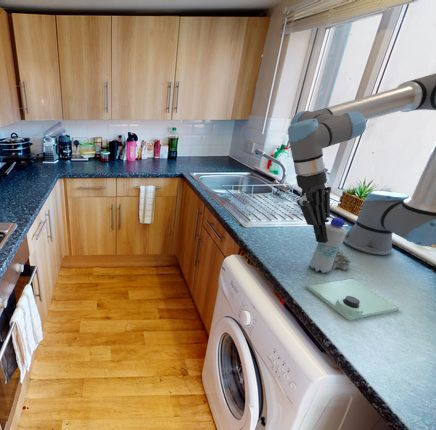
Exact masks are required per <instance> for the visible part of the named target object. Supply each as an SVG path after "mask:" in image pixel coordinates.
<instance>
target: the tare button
mask: <svg viewBox="0 0 436 430" xmlns="http://www.w3.org/2000/svg"><path fill="white" fill-rule="evenodd" d="M359 303H360V301H359V300H358V299H357V298H355V297H352V296H346V298H345V300H344V304H346V305H347V306H349V307H352V308H357V307H358V305H359Z"/></svg>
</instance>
